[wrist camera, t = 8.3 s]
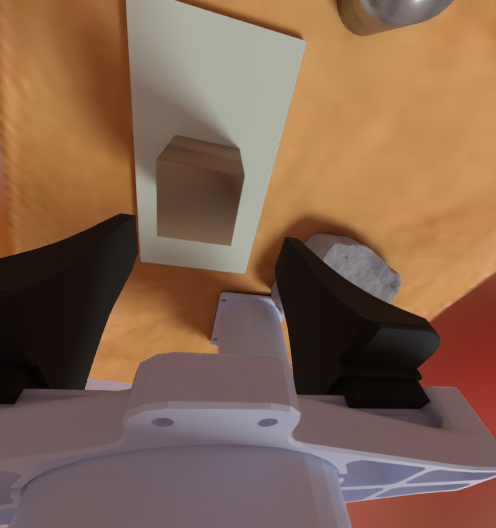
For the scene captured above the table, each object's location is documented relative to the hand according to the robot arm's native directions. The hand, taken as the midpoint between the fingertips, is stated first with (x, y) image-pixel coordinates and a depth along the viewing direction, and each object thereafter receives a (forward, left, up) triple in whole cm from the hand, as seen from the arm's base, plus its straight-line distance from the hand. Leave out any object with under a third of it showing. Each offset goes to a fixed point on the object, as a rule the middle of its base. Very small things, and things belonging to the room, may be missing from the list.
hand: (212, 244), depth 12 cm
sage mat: (0, +1, -9) cm, 9 cm away
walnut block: (0, +1, -9) cm, 9 cm away
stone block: (-8, -14, -10) cm, 19 cm away
